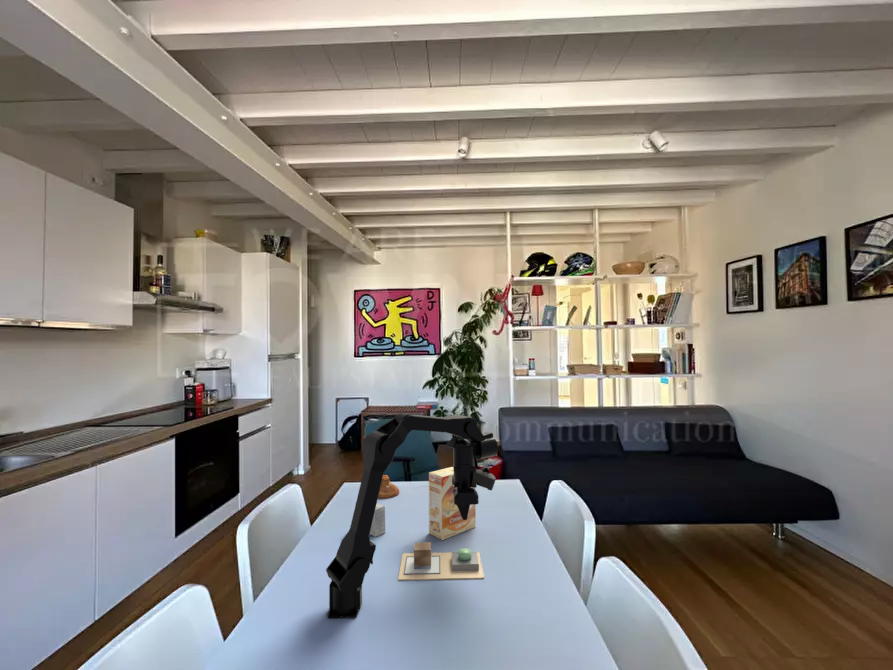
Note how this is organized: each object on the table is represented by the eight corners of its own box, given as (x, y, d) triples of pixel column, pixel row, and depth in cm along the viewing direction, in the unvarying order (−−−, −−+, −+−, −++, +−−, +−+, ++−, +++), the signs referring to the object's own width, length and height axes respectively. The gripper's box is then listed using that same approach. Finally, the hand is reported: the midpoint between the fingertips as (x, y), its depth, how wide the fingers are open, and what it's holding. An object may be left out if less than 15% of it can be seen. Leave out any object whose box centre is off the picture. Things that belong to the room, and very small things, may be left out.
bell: (374, 489, 184) (374, 472, 184) (402, 490, 182) (401, 472, 183) (366, 498, 172) (366, 480, 172) (396, 499, 171) (395, 481, 171)
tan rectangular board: (398, 580, 111) (398, 578, 111) (402, 554, 125) (402, 552, 125) (484, 578, 111) (484, 576, 111) (478, 552, 125) (478, 551, 125)
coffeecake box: (442, 540, 133) (441, 476, 134) (428, 533, 139) (427, 472, 139) (476, 527, 143) (476, 467, 144) (462, 520, 148) (461, 463, 149)
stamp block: (414, 569, 115) (413, 550, 116) (414, 560, 120) (414, 542, 120) (430, 568, 115) (430, 549, 116) (431, 560, 120) (431, 542, 120)
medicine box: (385, 533, 139) (385, 505, 140) (374, 537, 136) (374, 509, 136) (370, 526, 145) (370, 500, 145) (359, 530, 141) (359, 503, 142)
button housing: (452, 572, 114) (452, 564, 114) (451, 559, 121) (451, 552, 121) (478, 571, 114) (478, 564, 115) (476, 558, 121) (476, 551, 122)
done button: (458, 567, 116) (458, 554, 116) (458, 561, 120) (457, 548, 120) (472, 567, 116) (471, 554, 116) (471, 560, 120) (470, 548, 120)
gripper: (497, 471, 110) (499, 533, 109) (489, 453, 128) (490, 506, 128) (453, 471, 109) (454, 534, 109) (451, 453, 128) (452, 507, 128)
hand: (464, 519), depth 118 cm, fingers closed
